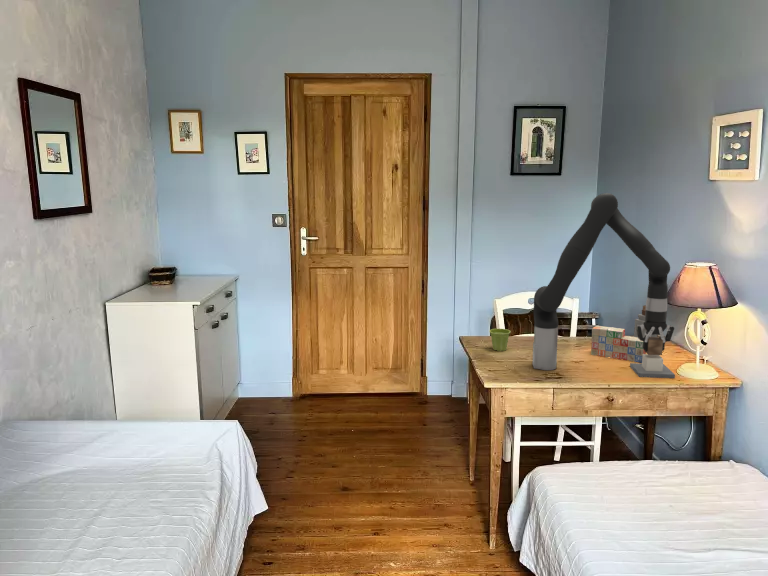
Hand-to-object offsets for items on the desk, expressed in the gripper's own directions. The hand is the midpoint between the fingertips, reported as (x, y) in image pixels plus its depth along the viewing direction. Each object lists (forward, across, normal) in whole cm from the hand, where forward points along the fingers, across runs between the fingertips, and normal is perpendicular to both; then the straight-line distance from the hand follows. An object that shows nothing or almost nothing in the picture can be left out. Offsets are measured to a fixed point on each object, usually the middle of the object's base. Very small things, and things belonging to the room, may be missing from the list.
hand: (653, 350), depth 224 cm
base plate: (+9, 0, 0) cm, 9 cm away
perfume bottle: (+9, -7, -34) cm, 36 cm away
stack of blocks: (+9, +8, -20) cm, 23 cm away
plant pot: (+9, +58, -26) cm, 64 cm away
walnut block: (+1, 0, 0) cm, 1 cm away
